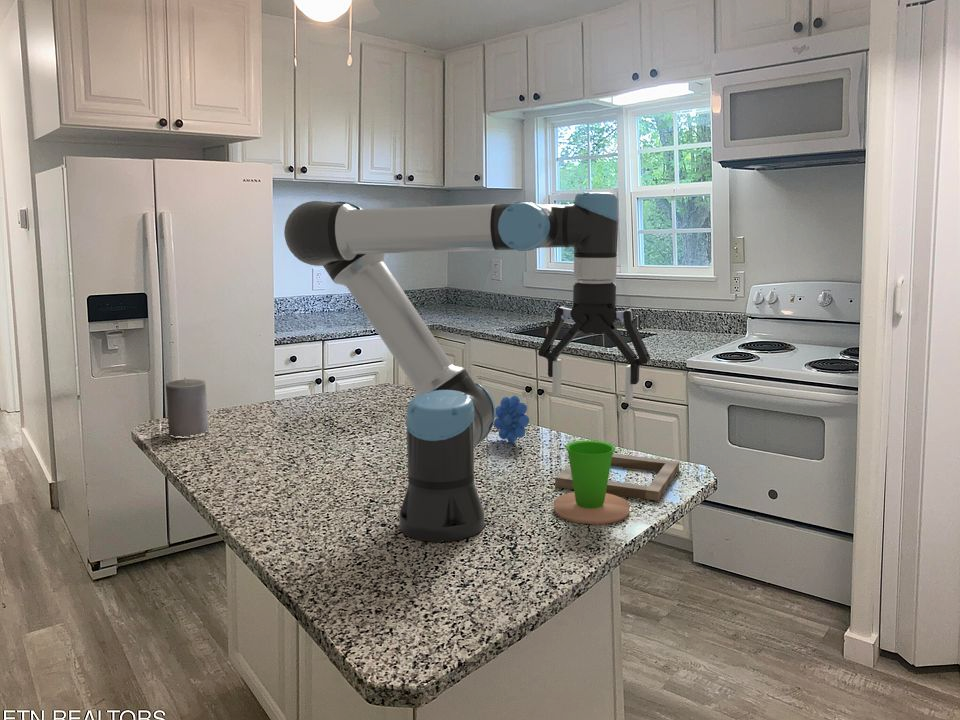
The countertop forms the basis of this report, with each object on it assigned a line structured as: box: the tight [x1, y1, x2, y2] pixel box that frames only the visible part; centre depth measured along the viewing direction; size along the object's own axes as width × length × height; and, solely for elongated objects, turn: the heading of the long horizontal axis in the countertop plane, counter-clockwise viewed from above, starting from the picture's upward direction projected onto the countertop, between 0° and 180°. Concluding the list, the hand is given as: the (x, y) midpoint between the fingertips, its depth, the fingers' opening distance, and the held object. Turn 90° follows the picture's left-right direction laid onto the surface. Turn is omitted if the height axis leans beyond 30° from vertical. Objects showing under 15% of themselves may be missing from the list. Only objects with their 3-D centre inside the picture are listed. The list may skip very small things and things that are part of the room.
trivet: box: [553, 491, 630, 525], centre depth 143 cm, size 14×14×1 cm
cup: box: [565, 439, 616, 509], centre depth 142 cm, size 9×9×11 cm
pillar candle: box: [165, 377, 209, 436], centre depth 197 cm, size 10×10×15 cm
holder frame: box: [554, 453, 680, 502], centre depth 161 cm, size 21×21×2 cm
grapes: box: [493, 395, 530, 444], centre depth 188 cm, size 12×7×12 cm, turn 42°
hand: (592, 398), depth 139 cm, fingers open, 13 cm apart
